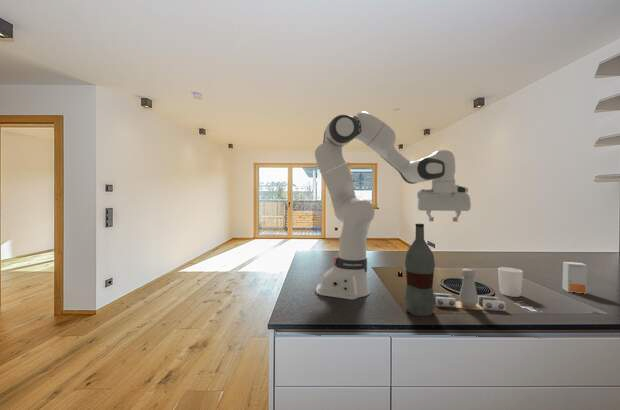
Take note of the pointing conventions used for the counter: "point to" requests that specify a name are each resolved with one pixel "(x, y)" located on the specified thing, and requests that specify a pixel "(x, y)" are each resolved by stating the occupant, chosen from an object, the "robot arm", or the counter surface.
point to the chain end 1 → (444, 300)
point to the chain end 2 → (491, 303)
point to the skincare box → (574, 277)
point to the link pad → (477, 307)
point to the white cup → (510, 281)
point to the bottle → (419, 276)
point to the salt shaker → (468, 289)
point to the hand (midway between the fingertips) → (443, 221)
